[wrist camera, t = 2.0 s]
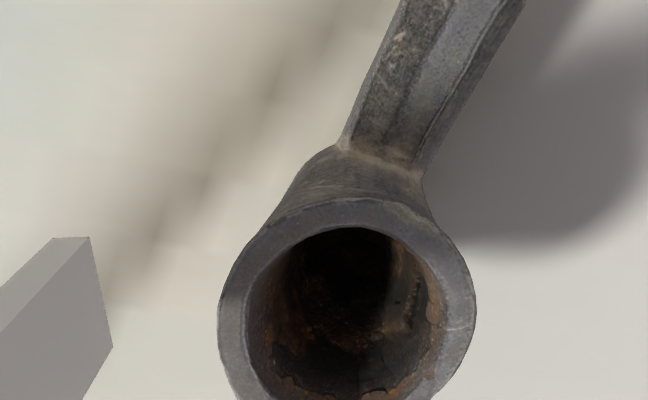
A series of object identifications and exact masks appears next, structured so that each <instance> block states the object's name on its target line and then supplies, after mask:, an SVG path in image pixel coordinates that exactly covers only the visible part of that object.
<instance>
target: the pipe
mask: <svg viewBox="0 0 648 400" xmlns="http://www.w3.org/2000/svg"><path fill="white" fill-rule="evenodd" d="M524 6H525V0H401V1H400V3H399V5H398V7H397V10H396V12H395V14H394V16H393V19H392V21H391V23H390V25H389V28H388V30H387V32H386V34H385V37H384V39H383V41H382V43H381V45H380V48H379V50H378V52H377V54H376V56H375V58H374V60H373V63H372V65H371V67H370V69H369V71H368V73H367V75H366V77H365V79H364V82H363V84H362V86H361V89H360V91H359V93H358V96H357V98H356V101H355V103H354V106H353V109H352V111H351V113H350V116H349V118H348V120H347V123H346V125H345V127H344V129H343V132H342V134H341V136H340V138H339V140H338V141H337V143H336V144H334V145H332V146H330V147H328V148H326V149H324V150H322V151H320V152H319V153H317V154H316V155H315V156H313V157H312V158H311V159H310V160H309V161H307V162H306V163H305V164H304V166H303V167H302V168H301V169H300V171H299V172H298V173H297V175H296V176H295V178H294V180H293V182H292V184H291V185H290V187H289V188H288V190H287V192H286V193H285V195H284V197H283V198H282V200H281V202H280V203H279V205H278V206H277V207H276V209H275V210H274V211H273V213H272V214H271V215H270V217H269V218H268V219H267V221H266V222H265V223H264V225H263V226H262V227H261V229H260V230H259V231H258V233H257V234H256V235H255V236H254V237H253V238H252V239H251V240H250V241H249V242H248V243H247V244H246V246H245V247H244V249H243V250H242V252H241V253H240V255H239V256H238V258H237V259H236V261H235V262H234V264H233V266H232V269H231V271H230V273H229V275H228V278H227V280H226V282H225V284H224V287H223V290H222V294H221V297H220V300H219V303H218V308H217V340H218V350H219V354H220V359H221V361H222V364H223V366H224V370H225V373H226V376H227V378H228V381H229V383H230V385H231V388H232V390H233V392H234V394H235V396H236V398H237V400H430V399H431V398H432V397H433V396H434V395H435V394H436V393H437V392H438V391H439V390H440V389H442V388H443V387H444V385H445V384H446V383H447V382H448V381H449V380H450V379H451V378H452V376H453V375H454V374H455V372H456V371H457V369H458V368H459V366H460V364H461V362H462V360H463V358H464V356H465V354H466V352H467V350H468V348H469V345H470V343H471V340H472V336H473V333H474V330H475V323H476V315H477V308H476V295H475V291H474V286H473V281H472V278H471V275H470V272H469V270H468V267H467V265H466V263H465V260H464V258H463V257H462V255H461V254H460V253H459V251H458V250H457V248H456V247H455V245H454V244H453V242H452V241H451V239H450V238H449V237H448V236H447V235H446V234H445V233H444V232H443V231H442V230H441V229H440V228H439V226H438V225H437V223H436V222H435V220H434V218H433V216H432V214H431V211H430V209H429V206H428V204H427V201H426V198H425V195H424V192H423V189H422V182H421V179H422V177H423V175H424V173H425V171H426V169H427V167H428V166H429V164H430V162H431V160H432V158H433V157H434V155H435V153H436V151H437V150H438V148H439V146H440V144H441V143H442V141H443V139H444V137H445V136H446V134H447V132H448V130H449V129H450V127H451V125H452V123H453V122H454V120H455V118H456V117H457V115H458V114H459V112H460V110H461V109H462V107H463V105H464V104H465V102H466V101H467V99H468V97H469V96H470V94H471V92H472V91H473V89H474V87H475V86H476V84H477V83H478V81H479V80H480V78H481V77H482V75H483V73H484V72H485V70H486V68H487V66H488V65H489V63H490V61H491V59H492V58H493V56H494V54H495V53H496V51H497V49H498V47H499V46H500V44H501V43H502V41H503V40H504V38H505V37H506V35H507V33H508V32H509V30H510V29H511V27H512V25H513V24H514V22H515V21H516V19H517V17H518V16H519V14H520V13H521V11H522V9H523V8H524Z"/></svg>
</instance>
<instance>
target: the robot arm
mask: <svg viewBox="0 0 648 400" xmlns="http://www.w3.org/2000/svg"><path fill="white" fill-rule="evenodd" d="M112 348H113V344H112V339H111V335H110V330H109V326H108V321H107V316H106V312H105V307H104V303H103V298H102V293H101V289H100V284H99V280H98V275H97V270H96V266H95V261H94V256H93V252H92V247H91V243H90V238H89V237H69V238H52V239H51V240H50V241H49V242H48V243H47V244H46V245H45V246H44V247H43V248H42V249H41V250H40V251H39V252H38V253H37V254H35V255H34V256H33V257H32V258H31V259H30V260H29V261H28V262H27V263H26V264H25V265H24V266H23V267H22V268H21V269H20V270H18V271H17V272H16V273H15V274H14V275H13V276H12V277H11V278H10V279H9V280H8V281H7V282H6V283H5V284H4V285H3V286H2V287H0V400H82V399H83V397H84V395H85V394H86V392H87V390H88V389H89V387H90V385H91V384H92V382H93V380H94V378H95V377H96V375H97V373H98V372H99V370H100V368H101V366H102V365H103V363H104V361H105V360H106V358H107V356H108V355H109V353H110V351H111V349H112Z"/></svg>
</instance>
